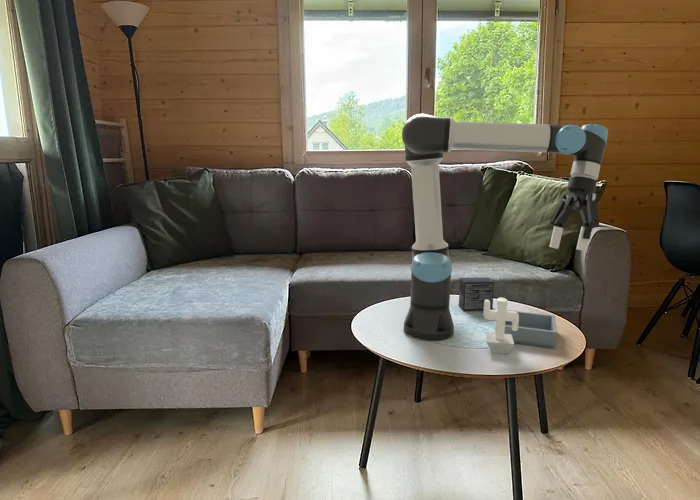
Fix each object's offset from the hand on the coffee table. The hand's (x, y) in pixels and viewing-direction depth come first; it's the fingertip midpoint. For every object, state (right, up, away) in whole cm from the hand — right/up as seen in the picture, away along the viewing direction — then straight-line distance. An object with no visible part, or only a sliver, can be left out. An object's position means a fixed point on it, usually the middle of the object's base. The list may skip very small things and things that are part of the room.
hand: (566, 249), depth 148 cm
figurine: (-22, -28, -8) cm, 37 cm away
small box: (-20, -21, +28) cm, 40 cm away
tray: (-11, -26, +3) cm, 28 cm away
